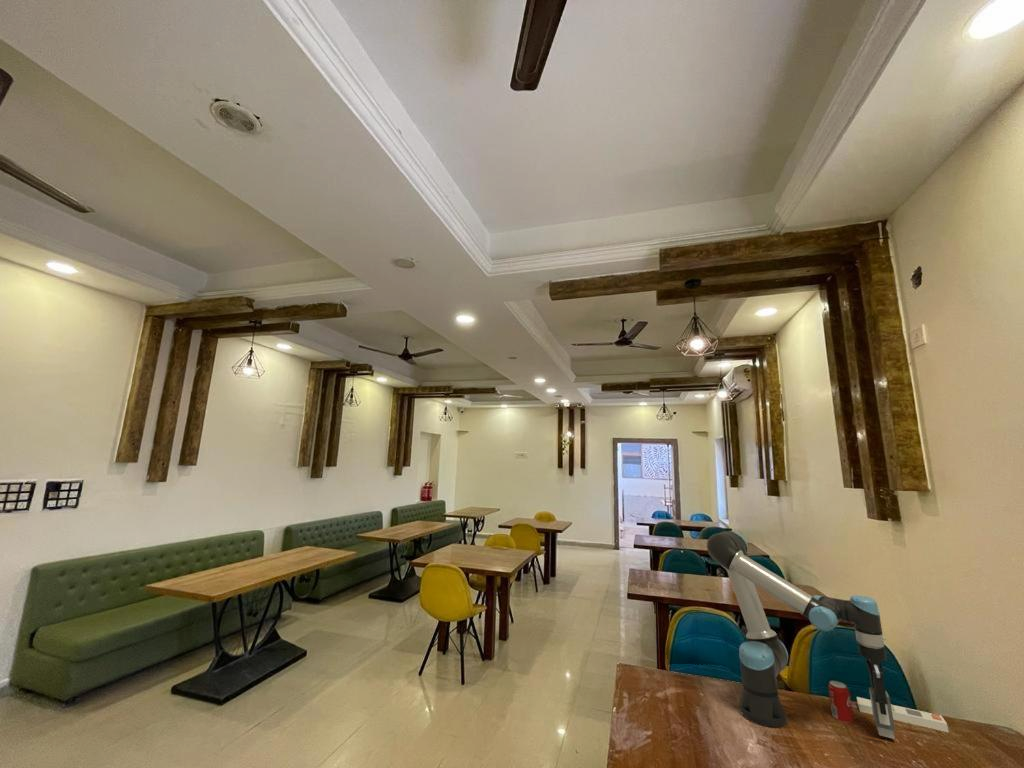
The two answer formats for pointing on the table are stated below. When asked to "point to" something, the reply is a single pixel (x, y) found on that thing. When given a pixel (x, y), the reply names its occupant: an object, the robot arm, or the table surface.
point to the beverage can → (840, 702)
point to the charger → (882, 728)
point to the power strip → (907, 715)
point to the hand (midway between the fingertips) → (883, 719)
